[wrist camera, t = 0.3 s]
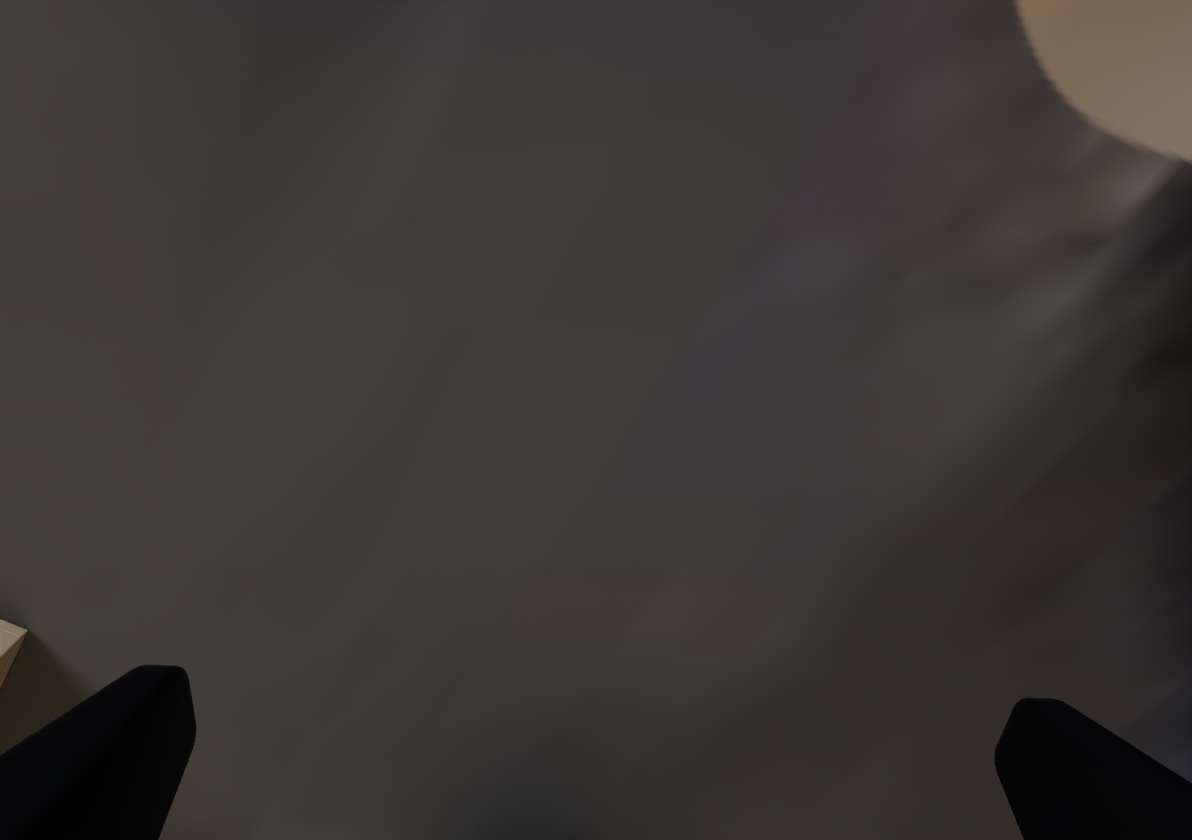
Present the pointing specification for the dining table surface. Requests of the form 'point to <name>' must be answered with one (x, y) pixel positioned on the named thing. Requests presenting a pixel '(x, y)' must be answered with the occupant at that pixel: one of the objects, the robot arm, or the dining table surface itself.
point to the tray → (9, 645)
